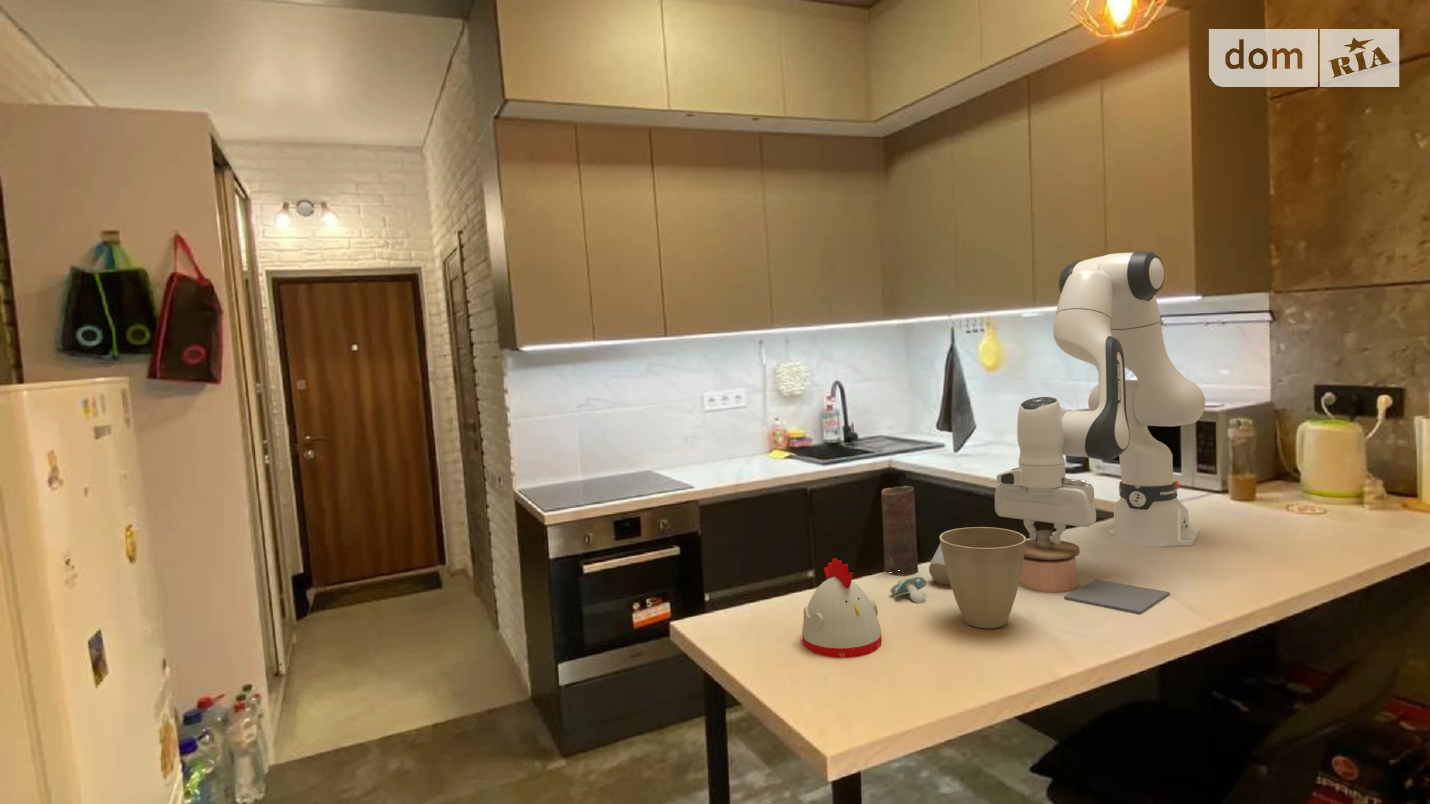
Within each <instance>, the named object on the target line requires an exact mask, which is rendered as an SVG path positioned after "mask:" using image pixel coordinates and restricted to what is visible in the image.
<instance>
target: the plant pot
mask: <svg viewBox="0 0 1430 804" xmlns="http://www.w3.org/2000/svg"><path fill="white" fill-rule="evenodd" d="M1025 537H1026V536H1025V535H1024V534H1022V533H1020V532H1018V531H1016V530H1011V529H1007V528H999V527H988V526H986V527H985V526H977V527H976V526H974V527H972V526H971V527H962V528H959V527H958V528H954V529H950V530H946V531H944V532H942V533H941V534H940V535H939V542H940V543H941V548H942V553H943V558H944V563H945V567H946V571H947V574H948V578H949V581H950V584H951V585H950V588H951V590H952V593H953V595H954V599H955V602H956V604H957V606H958V610H959V612H960V613H961V615H962V618H963V620H964V622H965V623H966V624H967V625H969V626H970V627H971V626H972V627H974V628H980V629H998V628H1001V627H1004V626H1006V624H1007V623H1008V620H1009V618H1010V615H1011V611H1012V609H1013V605H1014V603H1015V599H1016V598H1017V597H1016V596H1017V591H1018V588H1019V585H1020V584H1019V581H1020V576H1021V571H1022V565H1023V558H1024V550H1025V542H1026V540H1027V537H1026V538H1025ZM940 543H939V544H940Z"/></svg>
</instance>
